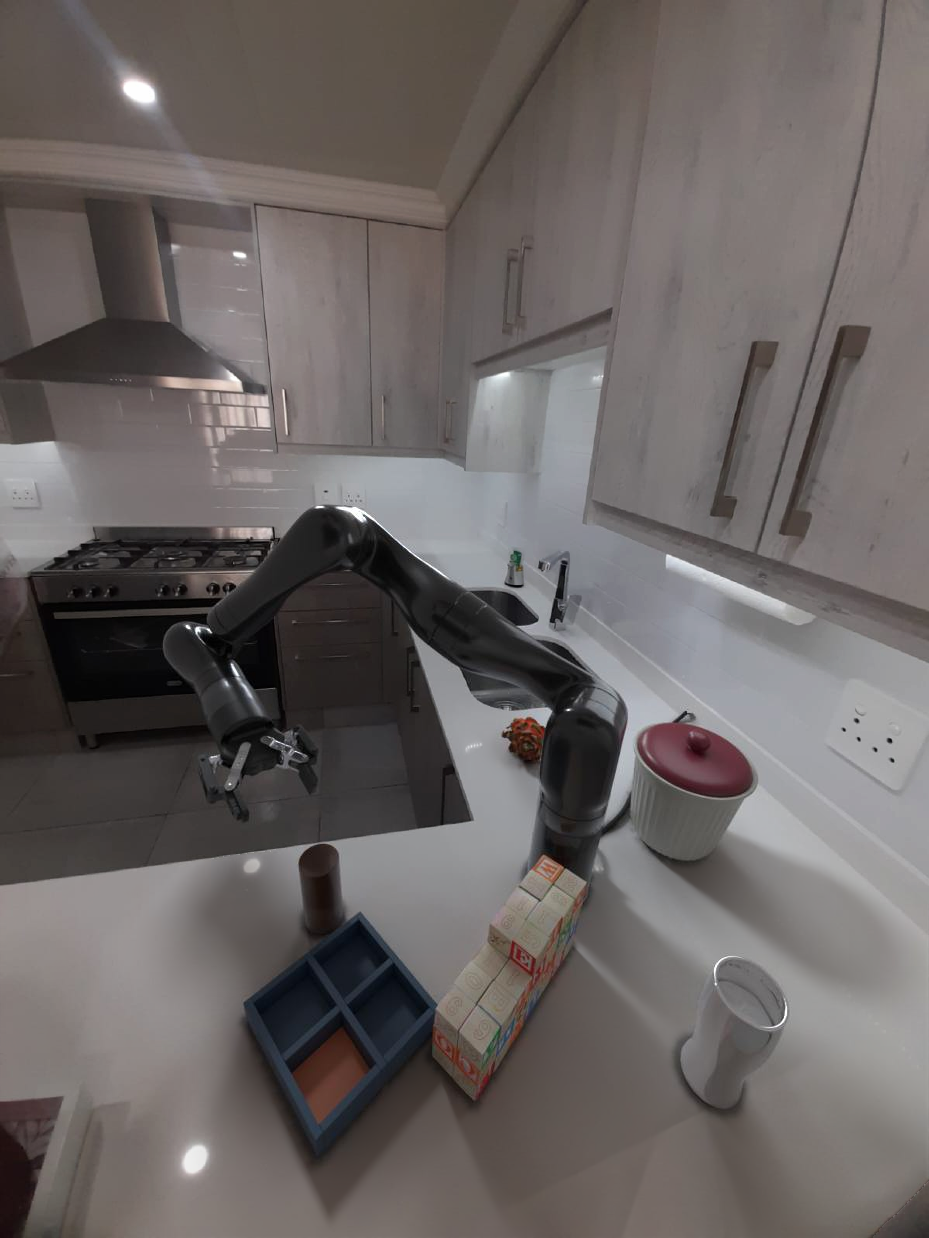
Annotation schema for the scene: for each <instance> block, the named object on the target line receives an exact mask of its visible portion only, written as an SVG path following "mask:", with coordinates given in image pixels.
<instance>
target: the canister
mask: <svg viewBox="0 0 929 1238" xmlns="http://www.w3.org/2000/svg"><path fill="white" fill-rule="evenodd" d="M632 741H633V742H632V748H633V752H634V754H635V756H634V765H633V773H632V784H631V790H632V793H631V805H630V818H631V823H632V826H633V827H634V830H635V831H636V833H637V835H638V836H639V837H640V838H641V840H642V841H643V842H644V843H645V844H646V845H647V846H649V848H651V849H652V850H654V851H656V852H657V854H661V855H662V856H664V857H668V858H669V859H674V860H676V861H681V862H685V861H687V862H691V861H697V860H701V859H704V858H705V857H706V856H708V855H709V854H711V852H713V851H714V850H715V848H716V847H717V845H718V844H719V843H720V841H721V839H722V838H723V836H724V835H725V833H726V831H727V830H728V828H729V826H730V824H731V823H732V821H733V820H734V818H735V816H736V814H737V813H738V811H739V809H740V807H741V806H742V804H743V803H744V801H745V799H747V798H748V797H750V796H751V795H752V794H753V793H754V792H755V791H756V789H757V787H758V784H759V774H758V771H757V769H756V767H755V765H754V763H753V762H752V761H751V760H750V758H749V757H748V756H747V755H746V754H745V753H744V752H743V750H741V749H740V748H739V747H738V746H736V745H735V744H733V743H732V742H730V741H729V740H727V739H726V738H725V737H723V736H721V735H720V734H718V733H715V732H713V731H711V730H709V729H706V728H703V727H701V726H697V725H694V724H689V723H683V722H678V723H673V721H671V722H670V721H669V722H668V721H667V722H666V721H665V722H656V723H651V724H648V725H646V726H643V727H642V728H641V729H639V730H638V731H637V732H636V734H635V735H634V738H633V740H632Z"/></svg>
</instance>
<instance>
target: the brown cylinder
mask: <svg viewBox="0 0 929 1238" xmlns="http://www.w3.org/2000/svg"><path fill="white" fill-rule="evenodd" d="M297 864H298V865H297V867H298V873H299V882H300V891H301V898H302V899H301V900H302V907H303V914H304V924H305V927H306V928H307V930H308V931H309V932H310V933H311V934H314V935H326V934H329V933H331V932H334V931H335V930H336V928H338V926H339V925H340V924H341V922H342V920H343V917H344V908H343V907H344V906H343V890H342V879H341V863H340V854H339V851H338V849H337V848H336V847H335V846H334V845H332V844H329V843H317V844H313V845H311V846H309V847H308V848H306V849H305V850H304V851H303V852H302V854H301V855H300V856H299V859H298V863H297Z"/></svg>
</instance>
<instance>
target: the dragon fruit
mask: <svg viewBox="0 0 929 1238" xmlns="http://www.w3.org/2000/svg"><path fill="white" fill-rule="evenodd" d="M545 727H546V726H544V725H541V724H540V723H539V722H538V721H537V719H535V718H534V717H532V716H526V717H525V718H523V717H519V718H517V717H514V718H513V720H512V721H511V722H510V725H508V726H506V727H505V729H506V731H505V730H502V731H501V738H503V739H507V740H508V741H510V743H509V745H508V747H507V749H508V752H509V753H510V754H511V753H512V754H517V757H518V758H519V760H523V761H524V760H525V761H526V760H527V761H531V762H532V763H538V762H540V759H541V751H542V743H543V737H544V731H545ZM508 729H510V730H508Z"/></svg>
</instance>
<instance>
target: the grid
mask: <svg viewBox="0 0 929 1238" xmlns="http://www.w3.org/2000/svg"><path fill="white" fill-rule="evenodd" d="M242 1004H243V1008H244V1014H245V1017H246V1022H247V1023H248V1025H249V1027H250V1030H251V1032H252V1033H253V1035H254V1037H255V1039H256V1041H257V1043H258V1045H259V1047H260V1049H261V1051H262V1053H263V1055H264V1056H265V1059H266V1060H267V1063H268V1064H269V1066H270V1068H271V1070H272V1072H273V1074H274V1076H275V1078H276V1080H277V1082H278V1084H279V1085H280V1087H281V1089H282V1091H283V1093H284V1095H285V1098H286V1099H287V1101H288V1103H289V1105H290V1107H291V1109H292V1110H293V1113H294V1115H295V1117H296V1119H297V1120H298V1122H299V1124H300V1127H301V1129H302V1131H303V1133H304V1134H305V1136H306V1138H307V1140H308V1142H309V1145H310V1146H311V1148H312V1150H313V1152H314V1154H315V1156H316V1158H317V1159H319V1158H320V1157H321V1156H322V1155H323V1154H324V1152H325V1151H326V1150H327V1149H328V1148H329V1147H330V1146H331V1145H332V1144H333V1142H335V1141H336V1139H337V1138H338V1137H339V1136H340V1135H341V1134H342V1133H343V1131H345V1129H346V1128H347V1127H348V1126H349V1125H350V1124H351V1123H352V1122H353V1120H354V1119H356V1117H357V1116H358V1115H359V1114H360V1113H361V1112H362V1110H364V1108H365V1107H366V1106H367V1105H368V1104H369V1103H370V1101H372V1099H373V1098H374V1097H375V1096H376V1095H377V1094H378V1092H380V1090H381V1089H382V1088H383V1087H384V1086H385V1085H386V1084H387V1083H388V1081H389V1080H391V1079H392V1078H393V1076H394V1075H395V1074H396V1073H397V1072H398V1071H399V1069H400V1068H401V1067H402V1066H403V1065H404V1064H405V1063H406V1062H407V1061H408V1060H409V1058H410V1057H411V1056H412V1055H413V1054H414V1053H415V1052H416V1050H417V1049H419V1048H420V1046H421V1045H422V1044H423V1043H424V1042H425V1041H426V1040H427V1039H428V1037H430V1035H432V1034H433V1025H434V1022H435V1009H436V1007H437V1006H438V1004H437V1002H436V1001H435V999H434V998H433V997H432V996H431V995H430V994H429V993H428V991H427V990H426V989H425V988H424V986H423V985H422V984H421V983H420V981H419V980H418V979H417V978H416V977H415V975H414V974H413V973H412V972H411V971H410V969H409V968H408V967H407V966H406V965H405V963H404V962H403V961H402V960H401V958H400V957H399V956H398V954H396V952H395V951H394V950H393V949H392V948H391V947H390V945H389V944H388V943H387V942H386V941H385V939H384V938H383V937H382V936H381V934H380V933H379V931H377V929H376V928H375V927H374V926H373V924H371V922H370V921H369V920H368V919H367V918H366V916H365V915H364V914H363V913H362V912H361V911H359V912H357V913H356V914H355V915H353V916H352V917H351V918H350V919H348V920H347V921H345V922H344V923H343V924H342V925H341V926H339V927H337V929H335V930H333V931H332V933H330V934H329V935H328V936H326V937H325V938H324V939H323V940H322V941H320V942H319V943H318V944H316V945H315V946H314V947H312V948H311V949H310V950H308V952H306V953H305V954H304V955H303V956H301V957H300V958H298V959H297V960H296V961H294V962H293V963H292V964H291V965H290V966H288V967H287V968H286V969H284V970H283V971H282V972H280V974H278V975H277V976H276V977H274V978H273V979H272V980H271V981H269V982H268V983H266V984H265V985H264V986H262V987H261V988H260V989H259V990H257V992H255V993H254V994H252V995H251V996H250V997H249V998H247V999H246V1000H244V1002H243V1003H242Z"/></svg>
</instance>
